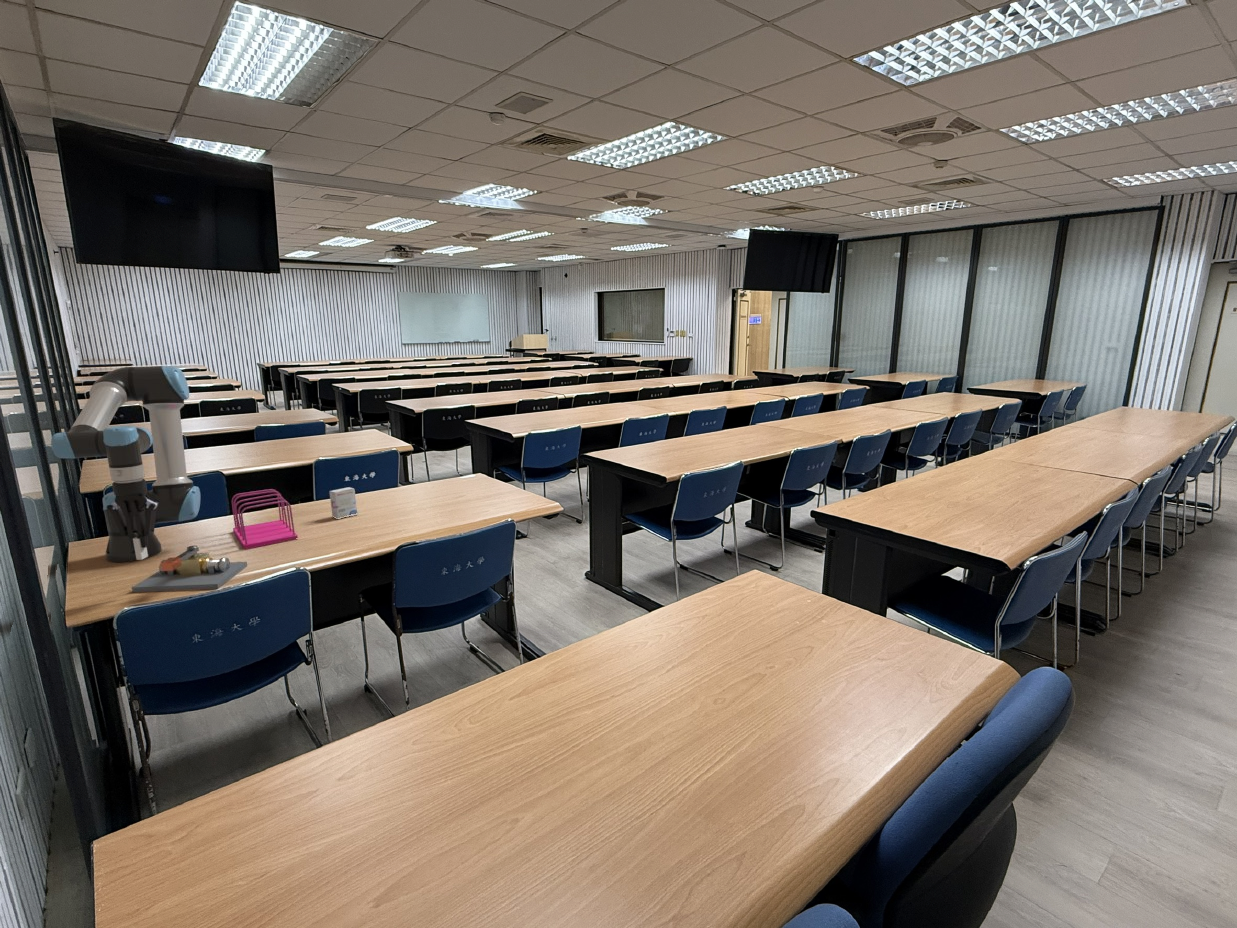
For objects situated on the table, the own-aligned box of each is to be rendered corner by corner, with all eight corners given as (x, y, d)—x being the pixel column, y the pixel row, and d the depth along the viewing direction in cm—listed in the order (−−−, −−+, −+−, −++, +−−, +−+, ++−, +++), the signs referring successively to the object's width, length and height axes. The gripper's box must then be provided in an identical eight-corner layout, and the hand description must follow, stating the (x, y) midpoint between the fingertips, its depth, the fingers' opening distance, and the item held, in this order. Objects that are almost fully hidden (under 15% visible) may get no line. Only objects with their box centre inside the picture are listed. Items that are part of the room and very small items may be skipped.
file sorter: (244, 550, 214) (238, 507, 211) (233, 532, 233) (227, 493, 230) (298, 539, 225) (293, 499, 222) (283, 523, 244) (278, 485, 241)
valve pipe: (159, 578, 187) (156, 561, 186) (171, 570, 193) (168, 554, 192) (222, 575, 189) (219, 558, 188) (231, 568, 195) (229, 552, 194)
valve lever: (191, 554, 191) (189, 545, 191) (201, 553, 192) (199, 545, 191) (162, 572, 177) (160, 562, 176) (172, 571, 177) (171, 562, 177)
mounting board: (132, 592, 180) (131, 587, 179) (169, 568, 197) (169, 564, 197) (218, 588, 182) (217, 583, 182) (247, 565, 200) (246, 561, 199)
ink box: (351, 513, 257) (349, 486, 255) (357, 515, 254) (355, 488, 252) (331, 517, 251) (329, 490, 248) (337, 520, 248) (334, 492, 245)
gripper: (94, 483, 168) (109, 563, 173) (144, 482, 170) (158, 561, 174) (113, 477, 176) (127, 554, 180) (161, 476, 177) (173, 552, 182)
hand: (142, 557), depth 177 cm, fingers closed
